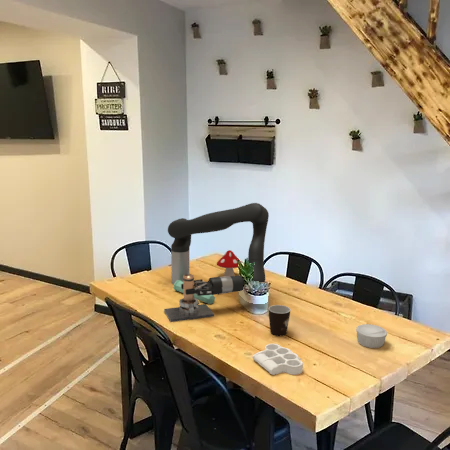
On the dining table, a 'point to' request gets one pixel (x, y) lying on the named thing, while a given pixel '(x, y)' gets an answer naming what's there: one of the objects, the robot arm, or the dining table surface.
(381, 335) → the ramekin
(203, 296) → the container
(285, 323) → the coffee mug
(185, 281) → the metal tube
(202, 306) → the stove plate
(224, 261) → the decorative mushroom
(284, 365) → the grey compartment tray
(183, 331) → the dining table surface
